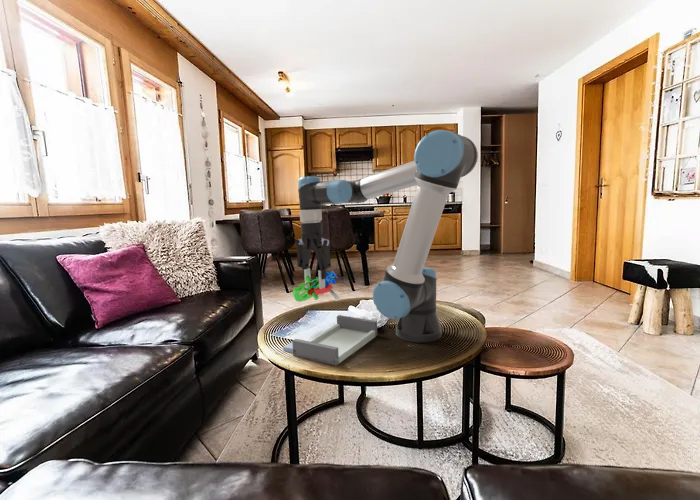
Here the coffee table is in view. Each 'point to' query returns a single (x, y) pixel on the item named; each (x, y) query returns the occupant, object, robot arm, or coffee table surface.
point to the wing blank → (289, 347)
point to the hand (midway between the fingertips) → (315, 287)
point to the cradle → (337, 340)
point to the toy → (315, 288)
